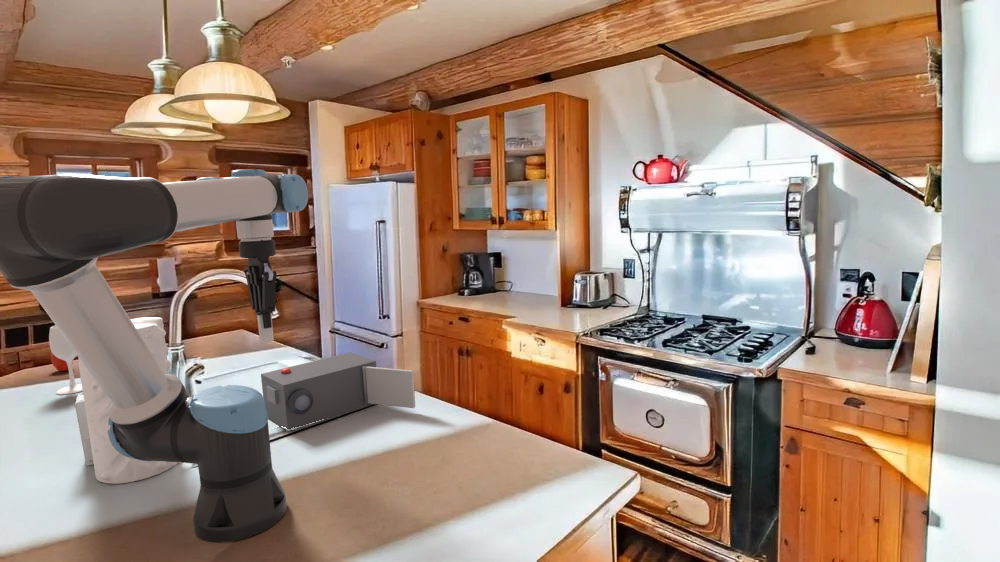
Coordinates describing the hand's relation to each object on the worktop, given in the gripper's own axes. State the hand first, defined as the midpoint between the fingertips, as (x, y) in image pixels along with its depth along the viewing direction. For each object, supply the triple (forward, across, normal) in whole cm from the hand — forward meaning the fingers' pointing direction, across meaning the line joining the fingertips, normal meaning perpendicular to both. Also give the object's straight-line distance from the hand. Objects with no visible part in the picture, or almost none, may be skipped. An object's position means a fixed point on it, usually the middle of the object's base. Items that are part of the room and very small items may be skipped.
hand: (266, 341), depth 129 cm
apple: (+25, +120, +27) cm, 125 cm away
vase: (+25, +10, +26) cm, 37 cm away
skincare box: (+25, +23, +31) cm, 46 cm away
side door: (+23, -4, -29) cm, 37 cm away
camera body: (+24, +9, -17) cm, 31 cm away
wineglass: (+25, +89, +28) cm, 97 cm away
